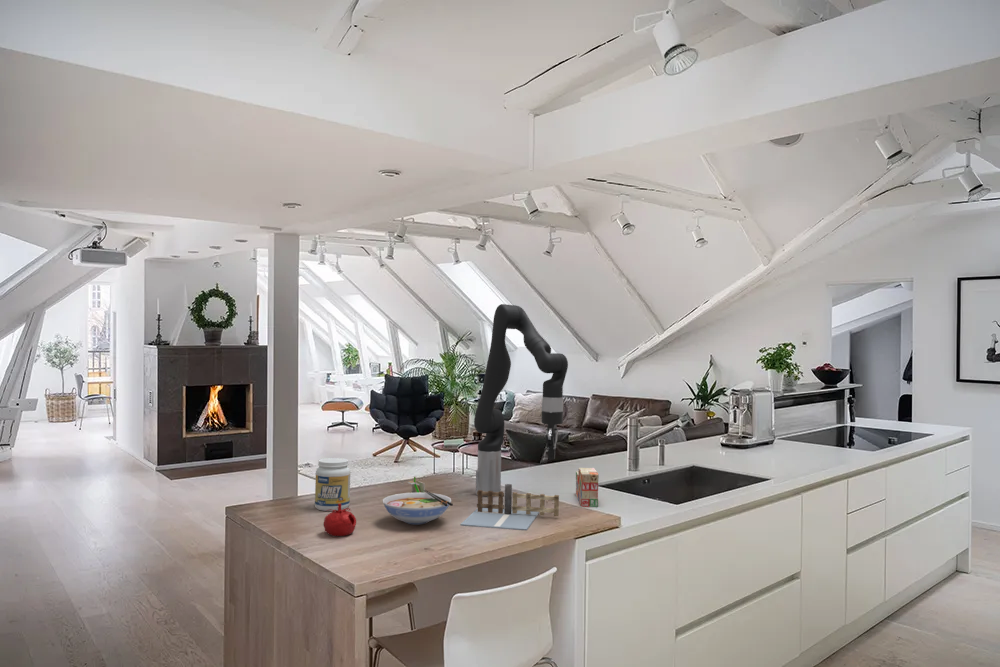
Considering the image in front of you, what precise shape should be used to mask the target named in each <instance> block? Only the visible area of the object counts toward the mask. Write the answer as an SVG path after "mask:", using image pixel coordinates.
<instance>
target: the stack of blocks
mask: <svg viewBox="0 0 1000 667" xmlns="http://www.w3.org/2000/svg"><path fill="white" fill-rule="evenodd" d="M599 479H600V478H599V473H598V471H597V470H596V469H595V467H578V469H577V470H576V471H575V495H576V497H577V499H578V501H579V504H580V507H581V506H582V508H585V507H586V508H591V507H592V508H598V506H599V505H598V504H599Z"/></svg>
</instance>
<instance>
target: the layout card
mask: <svg viewBox="0 0 1000 667" xmlns="http://www.w3.org/2000/svg"><path fill="white" fill-rule="evenodd" d="M504 511H505V508H504V509H503V513H498V509H493V512H492V513H489V512H488V508H482V512H478V508H477V507H476V509H475V510H474V511H473V512H471V514H470V515H468V516H467V517H466V518H465V519H464V520H463V521H462V522H461V523H460V526H463V527H478V528H491V529H504V530H518V531H528V530H529V528H530V527H531V525H532V524H533V523H534V521H535V519H536V518H537V517H538V515H540V512H533V511H531V514H526V511H519V510H517V513H512V509H511V514H509V515H508V514H504Z"/></svg>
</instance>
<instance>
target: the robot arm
mask: <svg viewBox="0 0 1000 667" xmlns="http://www.w3.org/2000/svg"><path fill="white" fill-rule="evenodd" d="M507 330H516V331H519V332H520V333H521V334H522V336H523V344H524V346H525V348H526V349H527V351H528V352H529V353H530V354H531V355H532V357H534V360H535V363H536V365H537V367H538V369H539V370H540V371H541V372H542V373H544V374H552V375H551V377H550V378H549V379H547V380H544V381H543V382H542V383H543V384H542V400H541V423H542V424H544V425H547V428H546V429H545V441H546V447H547V448H546V449H548V451H547V453H548V454H547V459H548V460H549V461H551V460H553V461H554V460H555V459H556V447H557V443H558V433H559V428H557V425H561V424H563V423H564V402H563V395H564V393H563V391H564V390H563V388H564V383H565V379H566V375H567V372H568V369H569V367H568V366H569V362H568V361H569V360H568V358H567V356H566V355H565V354H563V353H553V352H552V348H551V346H550V344H549V343H548V342H547V340H546V339H545V338H544V337H543V336H542V335H541V334H540V333H539V332H538V331H537V329H536V328H535V325H534V324H533V323H532V321H531V320H530V318H529V316H528V314H527V313H526V311H525V310H524V309H523V307H522V306H519V305H516V304H514V305H513V304H507V303H506V304H504V303H502V304H499V305H498V306H497V307H496V308H495V312H494V316H493V323H492V334H491V342H490V347H489V353H488V357H487V363H486V367H485V368H486V369H485V372H484V377H483V378H484V380H483V384H482V387H481V388H482V389H481V392H480V397H479V400H478V404H477V407H476V411H475V414H474V419H473V424H474V426H473V427H474V429H475V431H476V432H478V433H479V434H485V436H484V438H483V439H482V440H480V441H479V442H478V444H477V469H476V470H475V495H477V491H478V490H483V491H485V492H488V491H493V492H499V491H501V489H502V488H501V485H502V484H501V483H502V481H501V478H502V447H503V444H504V436H505V416H504V414H503V412H502V410H500V409H497V408H494V407H495V404H496V400H497V398H498V397H499V395H500V394H501V392H502V391H503V389H504V388H505V386H506V385H507V383H508V380H509V377H510V374H511V373H510V372H511V367H512V361H511V357H510V354H509V350H508V349H507V344H506V334H507ZM477 496H478V495H477Z"/></svg>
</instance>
